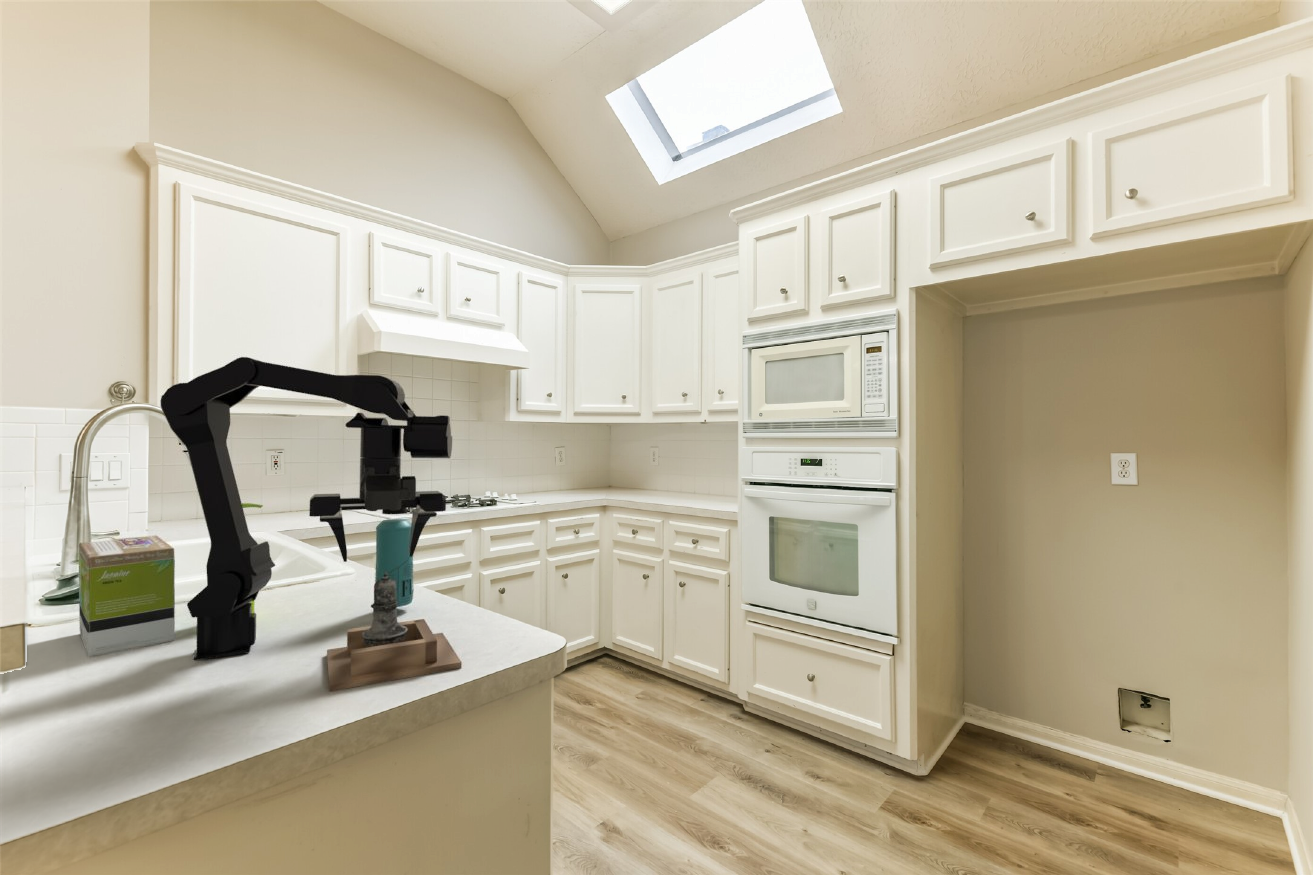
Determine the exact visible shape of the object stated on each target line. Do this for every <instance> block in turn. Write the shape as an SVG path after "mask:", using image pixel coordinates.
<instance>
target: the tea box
mask: <svg viewBox="0 0 1313 875" xmlns="http://www.w3.org/2000/svg"><path fill="white" fill-rule="evenodd" d="M175 559H176V558H175V548H174V547H173V546H171V545H170V544H169V543H167V542H166V541H165V540H163V539H162V538H161V537H159V536H158V535H149V536H147V535H146V536H136V537H135V536H134V537H124V538H123V537H122V538H113V539H105V540H97V541H95V540H94V541H89V542H79V544H78V582H79V583H78V584H79V585H78V588H79V589H78V590H79V591H78V592H79V593H78V598H79V599H78V600H79V602H78V606H79V613H78V614H79V617H78V618H79V622H78V623H79V634H80V637H81V640H82V642H83V646H84V647H85V648H84V649H85V651H86V654H87V656H88V657H89V658H92V657H98V656H103V655H104V656H105V655H108V654H113V653H119V652H123V651H129V650H134V649H138V648H144V647H149V646H154V645H158V644H163V643H167V642H172V641H173V640H175V628H176V626H175V624H176V621H175V620H176V619H175V617H176V616H175V613H176V612H175V610H176V609H175V607H176V606H175V604H176V602H175V599H176V598H175V595H176V594H175V593H176V592H175V589H176V588H175V574H176V573H175V567H176V566H175V562H176V561H175Z"/></svg>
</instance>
